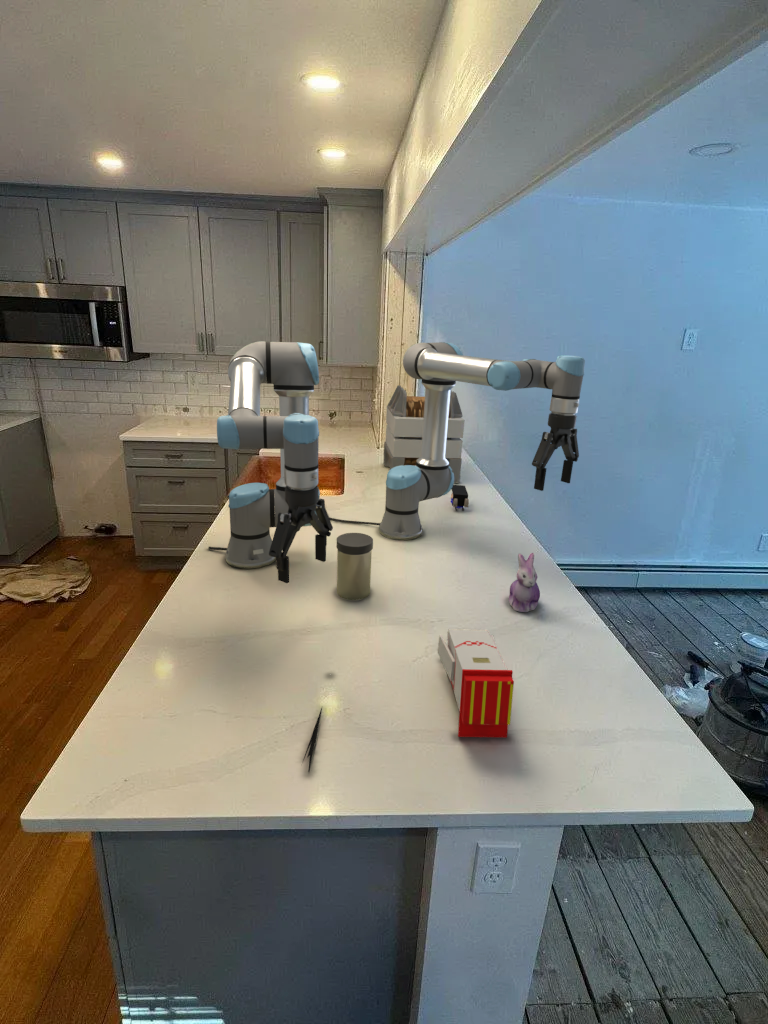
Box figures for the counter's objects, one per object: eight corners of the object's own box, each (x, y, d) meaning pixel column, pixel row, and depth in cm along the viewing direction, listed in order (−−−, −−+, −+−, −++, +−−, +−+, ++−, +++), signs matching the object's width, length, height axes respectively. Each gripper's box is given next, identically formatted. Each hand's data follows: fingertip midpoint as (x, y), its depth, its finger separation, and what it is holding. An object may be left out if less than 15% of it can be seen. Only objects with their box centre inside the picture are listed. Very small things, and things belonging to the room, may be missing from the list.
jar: (330, 593, 156) (330, 542, 151) (349, 581, 164) (351, 532, 158) (357, 603, 152) (358, 550, 146) (376, 590, 159) (378, 540, 154)
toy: (488, 613, 130) (523, 677, 101) (484, 667, 133) (517, 744, 104) (435, 612, 130) (455, 676, 101) (432, 666, 133) (451, 743, 103)
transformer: (382, 463, 289) (386, 382, 275) (445, 464, 293) (451, 384, 279) (390, 482, 257) (394, 392, 243) (460, 483, 261) (468, 394, 247)
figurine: (522, 617, 148) (530, 565, 143) (498, 599, 157) (504, 549, 152) (549, 609, 153) (558, 559, 148) (524, 593, 161) (531, 544, 156)
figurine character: (468, 516, 224) (463, 500, 237) (471, 498, 221) (465, 483, 234) (452, 515, 224) (447, 499, 237) (453, 498, 220) (449, 482, 234)
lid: (329, 548, 152) (329, 540, 151) (350, 537, 159) (350, 529, 159) (358, 557, 147) (359, 549, 146) (379, 545, 155) (380, 538, 154)
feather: (331, 679, 122) (336, 673, 122) (307, 777, 96) (313, 769, 95) (324, 675, 122) (329, 669, 121) (298, 772, 95) (304, 764, 95)
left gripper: (276, 504, 115) (279, 596, 123) (347, 475, 135) (346, 556, 143) (249, 496, 119) (253, 586, 126) (322, 469, 139) (322, 548, 146)
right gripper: (548, 419, 148) (537, 496, 155) (598, 411, 163) (586, 482, 171) (525, 414, 153) (515, 489, 160) (575, 407, 169) (564, 476, 176)
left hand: (302, 570), depth 135 cm, fingers open, 13 cm apart
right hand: (552, 485), depth 166 cm, fingers open, 13 cm apart
